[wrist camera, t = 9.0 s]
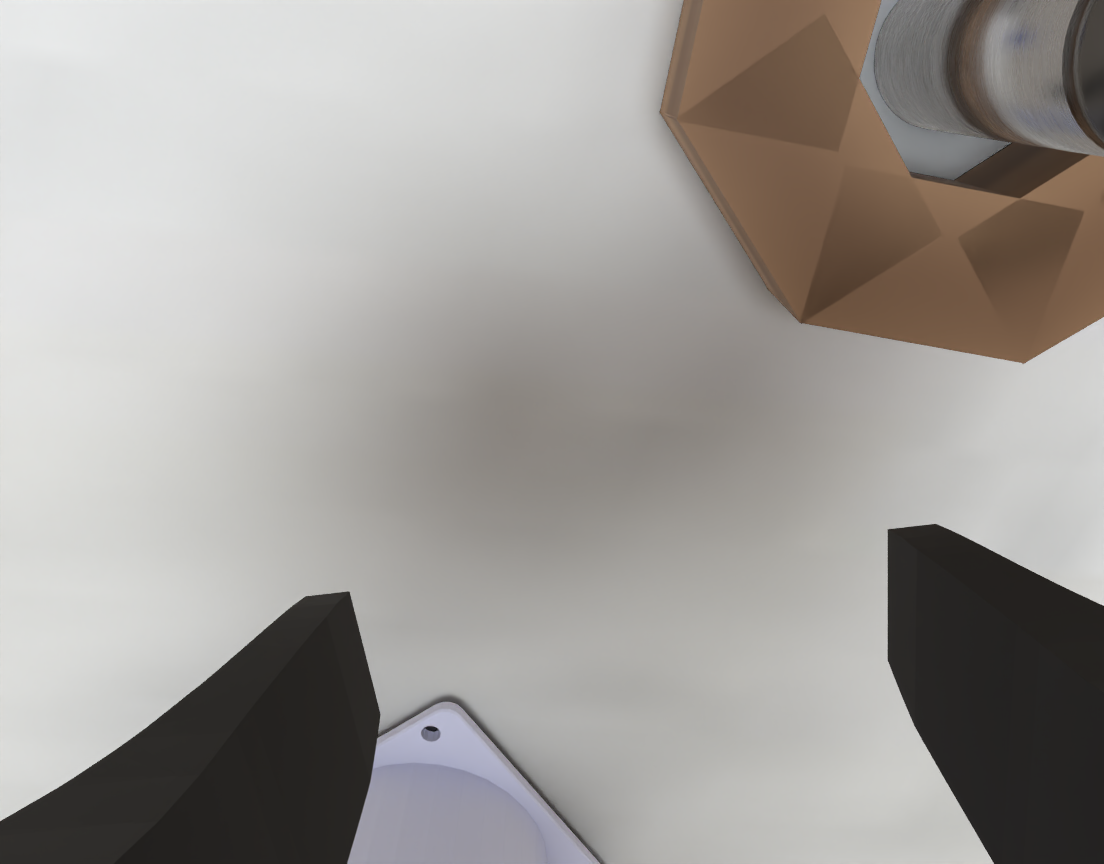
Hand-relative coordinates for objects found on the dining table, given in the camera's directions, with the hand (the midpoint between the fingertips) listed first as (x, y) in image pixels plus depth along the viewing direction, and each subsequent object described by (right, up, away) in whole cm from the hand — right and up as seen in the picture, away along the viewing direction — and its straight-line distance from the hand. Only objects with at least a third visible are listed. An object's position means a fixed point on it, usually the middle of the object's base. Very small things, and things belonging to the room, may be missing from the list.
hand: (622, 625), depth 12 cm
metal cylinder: (+7, +10, +7) cm, 14 cm away
